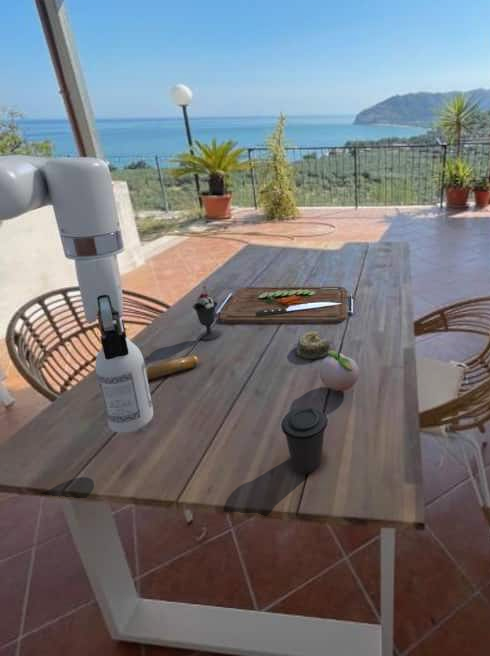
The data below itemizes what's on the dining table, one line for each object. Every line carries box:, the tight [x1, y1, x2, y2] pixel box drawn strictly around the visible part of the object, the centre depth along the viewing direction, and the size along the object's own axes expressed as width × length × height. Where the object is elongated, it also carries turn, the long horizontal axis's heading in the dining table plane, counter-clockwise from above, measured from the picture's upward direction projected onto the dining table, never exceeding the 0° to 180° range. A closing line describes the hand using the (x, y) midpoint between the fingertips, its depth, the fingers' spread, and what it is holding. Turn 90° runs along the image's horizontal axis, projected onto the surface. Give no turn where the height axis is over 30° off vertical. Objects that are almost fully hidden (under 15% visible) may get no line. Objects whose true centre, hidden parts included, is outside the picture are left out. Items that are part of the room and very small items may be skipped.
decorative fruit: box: [318, 350, 360, 392], centre depth 89 cm, size 9×8×10 cm
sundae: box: [192, 286, 219, 341], centre depth 111 cm, size 7×7×15 cm
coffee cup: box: [280, 405, 329, 474], centre depth 70 cm, size 8×8×10 cm
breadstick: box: [145, 355, 200, 381], centre depth 96 cm, size 13×3×3 cm, turn 122°
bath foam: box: [94, 317, 154, 434], centre depth 66 cm, size 7×7×20 cm
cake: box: [296, 331, 333, 360], centre depth 106 cm, size 10×10×5 cm
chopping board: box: [215, 286, 354, 324], centre depth 134 cm, size 45×27×3 cm, turn 91°
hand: (116, 348), depth 64 cm, fingers closed on bath foam, 3 cm apart
